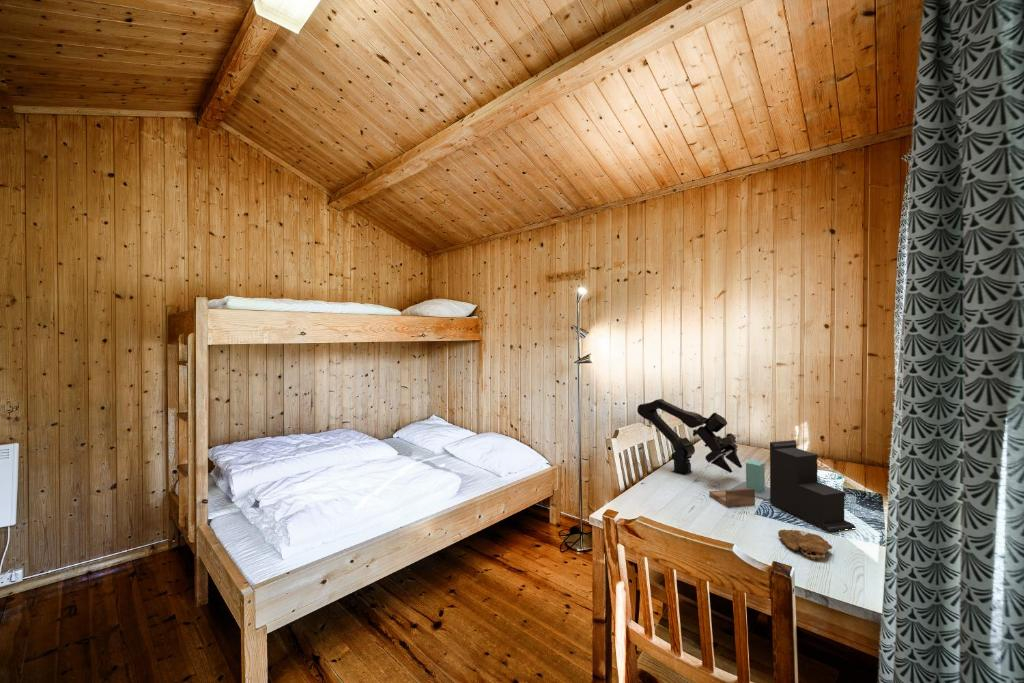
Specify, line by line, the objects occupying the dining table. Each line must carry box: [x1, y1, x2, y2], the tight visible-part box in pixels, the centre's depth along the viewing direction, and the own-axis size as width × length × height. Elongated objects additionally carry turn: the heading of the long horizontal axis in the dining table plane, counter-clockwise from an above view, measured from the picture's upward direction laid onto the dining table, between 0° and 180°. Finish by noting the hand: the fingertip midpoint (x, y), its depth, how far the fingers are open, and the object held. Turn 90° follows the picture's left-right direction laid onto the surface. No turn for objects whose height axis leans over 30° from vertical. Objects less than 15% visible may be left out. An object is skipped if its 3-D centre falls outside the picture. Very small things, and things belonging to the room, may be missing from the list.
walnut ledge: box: [709, 488, 756, 508], centre depth 157 cm, size 11×11×6 cm
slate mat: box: [731, 481, 770, 501], centre depth 166 cm, size 14×14×1 cm
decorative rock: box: [777, 529, 833, 561], centre depth 121 cm, size 11×4×15 cm
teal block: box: [745, 459, 766, 493], centre depth 166 cm, size 5×5×11 cm
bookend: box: [769, 439, 857, 533], centre depth 143 cm, size 23×11×24 cm, turn 11°
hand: (736, 469), depth 172 cm, fingers open, 9 cm apart
